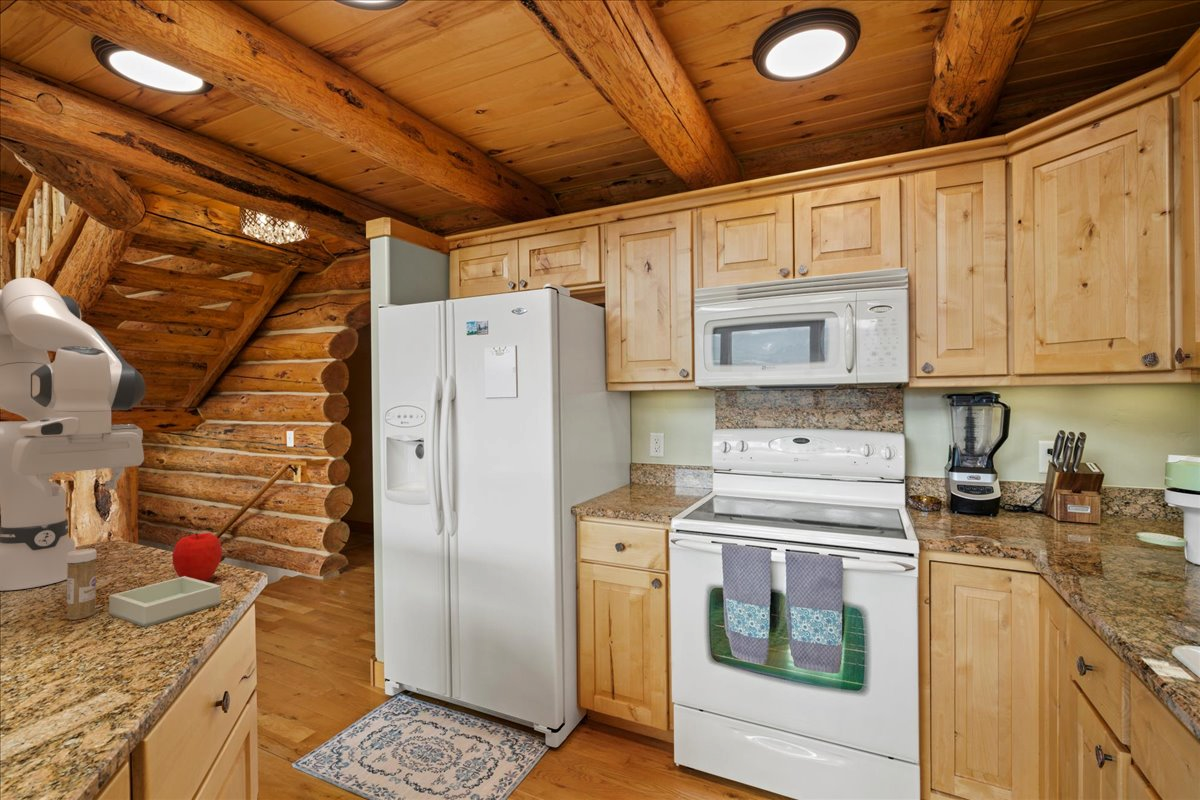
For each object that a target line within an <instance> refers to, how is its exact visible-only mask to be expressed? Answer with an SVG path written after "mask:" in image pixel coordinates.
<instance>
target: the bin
mask: <svg viewBox="0 0 1200 800" xmlns="http://www.w3.org/2000/svg"><path fill="white" fill-rule="evenodd" d="M221 590H222V586H221V585H219V584H215V583H212V582H208V581H206V582H205V581H201V580H197V579H193V578H189V577H186V576H183V577H179V576H178V577H176V578H172V579H167V580H163V581H160V582H157V583H153V584H149V585H144V586H141V587H137V588H132V589H128V590H125V591H121V592H117V593H112V594H109V597H108V598H109V599H108V600H109V601H108V605H109V606H108V609H109V610H108V614H109V615H110V616H112V617H115V618H118V619H120V620H124V621H126V622H129V623H132V624H134V625H138V626H140V627H143V628H149V627H151V626H154V625H157V624H158V625H159V624H161V623H164V622H167V621H171V620H173V619H177V618H180V617H183V616H186V615H189V614H193V613H197V612H199V611H203V610H205V609H210V608H212V607H216V606H219V605H221V604H222V603H221V600H222V599H221V596H222V595H221V593H222V591H221Z"/></svg>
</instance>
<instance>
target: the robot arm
mask: <svg viewBox="0 0 1200 800" xmlns="http://www.w3.org/2000/svg"><path fill="white" fill-rule="evenodd" d="M48 351H50V352H54V353H55V352H56V353H55V357H54V360H53V362H51V359H50V356H49V353H48ZM145 395H146V382H145V379H144V377H143V375H142V374H141V373H140V371H138V370H137V369H136V368H135V367H134V366H132V365H131V364H129V363H128V362H127V361H126V360H125V359H124V357H123V356H122V355H121V354H120V353H119V352H118V350H117V349H116V348H115V347H114V345H113V344H112V343H111V342H110V341H109V340H108V339H107V337H106V336H105V335H104V334H103V333H102V332H101V331H100V330H99V329H97V328H95V327H94V326H92V325H89V324H88V323H87V322H84V321H83V320H82V311H81V309H80V306H79V304H78V301H76V300H75V299H74V298H73V297H69V296H66V295H63V294H59V293H58V292H57V291H56V290H55V288H54V287H53V286H51V285H50V283H47V282H46V281H43V280H41V279H38V278H33V277H20V278H19V277H18V278H15V279H12V280H9V282H7V283H6V284H5V285H4V286H3V288H2V289H0V409H1V408H2V409H3V411H7V412H9V413H12V414H14V415H18V416H20V417H21V418H23V419H26V420H25V421H24V420H22V421H21V420H19V421H18V420H17V421H0V591H1V592H4V591H16V590H18V591H19V590H24V589H32V588H36V587H37V588H38V587H43V586H47V585H52V584H54V583H55V584H56V583H59V582H63V581H65V580H66V581H67V568H68V565H67V562H66V555H67V553H69V552H71V551H75V550H77V547H76V541H75V540H74V539H73V538H71V537H69V536H68V535H67V534H68V533H69V528H70V525H69V519H67V516H66V515H67V501H66V500H67V492H66V491H65V488H64V487H63V486H62V485H61V484H59V483H57V482H54V481H51V480H52V477H53V474H58V473H71V472H83V471H93V470H94V471H95V470H104V469H105V470H106V469H110V472H111V473H112V475H111V477H110V479H109V480H104V490H107V491H109V490H116V489H118V481H119V479H121V477H122V475H123V474H124V471H125V470H124V469H125V468H126V467H138V466H141V465H142V463H144V460H145V454H144V453H145V452H144V447H143V443H142V441H143V438H144V437H143V436H144V435H143V434H144V433H143V431H144V430H143V429H142V428H141V427H140V426H138V425H136V424H134V423H126V424H125V423H124V424H122V423H121V424H118V423H116V424H112V410H115V411H116V410H117V411H119V410H120V411H128V410H130V409H132V408H133V407H135V406H137V405H138V404H139V403H140V402H141V401H142V400H144V397H145Z"/></svg>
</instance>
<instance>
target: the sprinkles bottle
mask: <svg viewBox="0 0 1200 800" xmlns="http://www.w3.org/2000/svg"><path fill="white" fill-rule="evenodd" d="M97 554H98V551H97V549H96V548H82V549H76V550H75V551H71V552H69V553H67V555H66V562H67V565H68V568H67V579H66V603H67V604H66V605H67V606H66V607H67V609H66V610H67V612H66V613H67V615H66V619H67V620H69V621H70V620H71V621H73V620H76V621H77V620H83V619H86V618H89V617H91V616H94V615H95V614H96V613H97V610H96V597H97V596H96V595H97V592H96V591H97V581H96V580H97V579H96V561H97V560H96V559H97V558H98V557H97V556H98V555H97Z"/></svg>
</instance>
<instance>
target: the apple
mask: <svg viewBox="0 0 1200 800" xmlns="http://www.w3.org/2000/svg"><path fill="white" fill-rule="evenodd" d="M222 554H223V549H222V544H221V541H220V539H219V538H218V536H217V535H215V534H213V533H210V532H203V533H198V532H196V533H195V534H192V535H187V536H183V537H181V538H180V539H179V540H178V541H177V542H176V544H175V545H174V548H173V550H172V554H171V555H172V560H171V561H172V566H173V568H174V571H175V573H176V574H177V576H178V578H179V577H183V576H186V577H189V578H193V579H197V580H201V581H205V582H208V581H209V580H210V579H211V578H212V576H214V574H215V572H216V571H217V569H218V567H219V565H220V562H221V560H222Z"/></svg>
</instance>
